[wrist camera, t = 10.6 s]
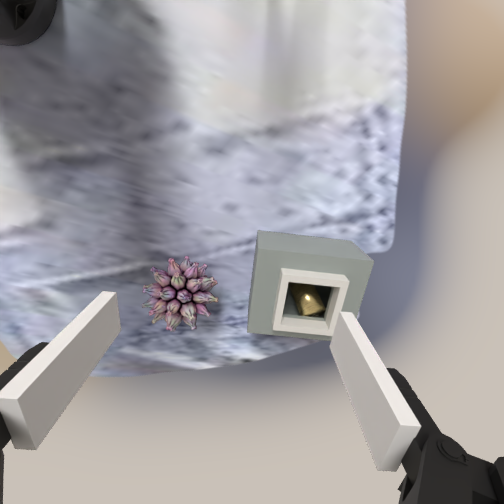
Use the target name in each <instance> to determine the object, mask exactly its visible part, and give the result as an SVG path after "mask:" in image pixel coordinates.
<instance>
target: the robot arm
mask: <svg viewBox="0 0 504 504" xmlns="http://www.w3.org/2000/svg"><path fill="white" fill-rule="evenodd" d="M56 2H57V0H0V44H4V45H12V46H17V45H24V44H27V43H30V42H32V41H34V40H36V39H37V38H38V37H40V36H41V35H42V34H43V33H44V32H45V30H46V29H47V28H48V26H49V24H50V22H51V20H52V18H53V15H54V12H55V8H56ZM120 331H121V326H120V318H119V310H118V301H117V293H116V292H107V291H102V292H101V293H100V294H99V295H98V296H97V297H96V298H95V299H94V300H93V301H92V302H91V303H90V304H89V305H88V306H87V307H86V308H85V309H84V310H83V311H82V312H81V313H80V314H79V315H78V316H77V317H76V318H75V319H74V320H73V321H72V322H71V323H70V324H69V325H67V326H66V327H65V328H64V329H63V330H62V331H61V332H60V333H59V334H58V335H57V336H56V337H55V338H54V339H53V340H52V341H51V342H50V343H46V342H41V343H39V344H38V345H36V346H34V347H33V348H31V349H29V350H28V351H26V352H25V353H24V354H23V355H22V356H21V357H20V358H19V359H18V360H17V362H14V364H12V365H11V366H10V367H9V368H8V370H6V371H5V372H3V373H2V374H1V375H0V504H3V472H4V470H3V469H4V454H3V451H2V449H3V448H4V447H5V445H6V444H7V443H8V442H9V441H10V439H11V440H12V443H13V445H14V448H15V449H26V450H36V449H37V448H38V447H39V445H40V444H41V443H42V441H43V440H44V438H45V437H46V435H47V434H48V433H49V431H50V430H51V428H52V427H53V426H54V424H55V423H56V421H57V420H58V418H59V417H60V416H61V414H62V413H63V412H64V410H65V409H66V407H67V406H68V404H69V403H70V402H71V400H72V399H73V397H74V396H75V395H76V393H77V392H78V390H79V389H80V388H81V386H82V385H83V383H84V382H85V380H86V379H87V378H88V376H89V375H90V374H91V372H92V371H93V369H94V368H95V366H96V365H97V364H98V362H99V361H100V359H101V358H102V357H103V355H104V354H105V352H106V351H107V350H108V348H109V347H110V345H111V344H112V343H113V341H114V340H115V338H116V337H117V336H118V334H119V333H120ZM330 349H331V352H332V355H333V357H334V360H335V362H336V365H337V368H338V370H339V373H340V375H341V378H342V380H343V383H344V385H345V388H346V391H347V393H348V396H349V398H350V401H351V403H352V406H353V409H354V411H355V414H356V416H357V419H358V422H359V424H360V427H361V429H362V432H363V434H364V437H365V440H366V442H367V445H368V447H369V450H370V453H371V455H372V457H373V460H374V463H375V465H376V468H377V470H378V471H397V469H398V468H399V466H400V464H401V463H402V465H403V467H404V469H405V471H406V473H407V474H406V476H405V478H404V480H403V481H402V483H401V485H400V486H399V488H398V490H399V491H401V495H400V500H399V504H504V457H499V458H498V459H497V460H496V461H495V462H494V464H493V463H490V462H488V461H485V460H482V459H480V458H477V457H474V456H472V455H469V454H467V453H466V451H465V450H464V449H463V448H462V447H461V446H460V445H459V444H458V443H457V442H456V441H454V440H453V439H452V438H450V437H448V436H446V435H444V434H442V433H441V432H440V430H439V428H438V427H437V425H436V424H435V422H434V421H433V419H432V418H431V416H430V415H429V413H428V412H427V410H426V409H425V407H424V406H423V404H422V403H421V401H420V400H419V399H418V398H417V395H416V394H415V392H414V391H413V390H412V388H411V386H410V385H409V383H408V382H407V380H406V379H405V377H404V376H402V375H401V374H400V373H399V372H398V371H397V370H396V369H394V368H385V366H384V364H383V362H382V361H381V359H380V358H379V356H378V354H377V353H376V351H375V349H374V348H373V346H372V344H371V343H370V341H369V340H368V338H367V336H366V334H365V333H364V331H363V329H362V328H361V326H360V325H359V323H358V321H357V320H356V318H355V316H354V315H353V313H352V312H339V316H338V319H337V323H336V326H335V330H334V333H333V337H332V340H331V344H330Z"/></svg>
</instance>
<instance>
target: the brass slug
mask: <svg viewBox="0 0 504 504" xmlns="http://www.w3.org/2000/svg"><path fill="white" fill-rule="evenodd" d="M288 286H289V288H290V290H291V293H292V295H293V298H294V300H295V303H296V305H297V308H298V310H299V313H300V315H301V316H307V317H319V316H321V315H323V314H324V313H325V312H326V308H325V306H324V304H323V302H322V300H321V298H320V296H319V294H318V292H317V290H316V288H315V286H314V284H304V283H295V282H289V283H288Z"/></svg>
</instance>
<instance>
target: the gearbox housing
mask: <svg viewBox="0 0 504 504" xmlns="http://www.w3.org/2000/svg"><path fill="white" fill-rule="evenodd" d="M373 263H374V261H373V260H372V259H371V258H370V257H369V256H368V255H367V254H365V253H364V252H363V251H362V250H361V249H360V248H359V247H358V246H356V245H355V244H354V243H353V242H352V241H347V240H339V239H330V238H321V237H312V236H304V235H295V234H286V233H277V232H268V231H260V230H258V232H257V240H256V248H255V256H254V264H253V272H252V280H251V288H250V296H249V306H248V326H247V333H257V334H267V335H277V336H286V337H296V338H306V339H315V340H325V341H331V340H332V337H333V333H334V330H335V326H336V323H337V319H338V316H339V312H352V313H353V315H354V316H355V318H357V315H358V311H359V308H360V305H361V302H362V299H363V296H364V292H365V289H366V286H367V283H368V280H369V276H370V273H371V270H372V267H373ZM289 282H295V283H304V284H314V286H315V288H316V290H317V292H318V294H319V296H320V298H321V300H322V302H323V304H324V306H325V308H326V312H325V313H324V314H323V315H321V316H319V317H307V316H301V315H300V313H299V310H298V308H297V305H296V303H295V300H294V298H293V295H292V293H291V290H290V288H289V286H288V283H289Z"/></svg>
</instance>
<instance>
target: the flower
mask: <svg viewBox="0 0 504 504" xmlns="http://www.w3.org/2000/svg"><path fill="white" fill-rule="evenodd" d="M168 262H169V265H168V273H167V272H166V271H164V270H158V269H156V268H155V267H152V269H150V271H151V272H152V273H153V274H154V277H155V280H156V281H157V282H158V283H152V284H150V285H144V287H143V293H147V294H149V295H150V296H152V297H151V298H150V299H149V300H148V301H147V302H145V303H143V304H141V305H142V306H143V308H144V307H150V308H152V310H150V311H149V313H150V314H149V315H153V314H155V313H156V314H155V317H154V319H153V320H152V323H153V324H154V323H156V322H157V321H159V320H162V319H164V318H165V321H166V322H167V327H166V329H168V330H171V332H172V331H175V330H176V327H177V326H178V324H180V322H181V320H182V319H183V320H184V322H185V323H186V324H188V325H189V326H190V327H191V329H192V330H193V329H197V327H196V320H197V315H196V312H197V313H198V314H202V315H205V316H207V317H209V316H210V315H211V313H210V312H209V311H208V309H207V307H206V305H205V304H208V303H212V302H218V298H217V297H214V296H213V295H212V294H211V293H210V292H208V291H209V290H210V289H211V288H212V287H213V286H214V285H216V284H217V281H216V280H215V279H214V278H213V277H210V278H208V277H207V276H206V275H204V274H205V270H206V268H207V267H208V266H207V265H206V264H204V265H203V266H201V267H199V268H198V265H199V263H197V262H194V264H193V263H192V262H189V257H188V256H185V259H184V261H183V262H182V263H181V265H180V266H179V265H178V264H177V263H176V262H175V260H174V259H171V258H169V260H168Z"/></svg>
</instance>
